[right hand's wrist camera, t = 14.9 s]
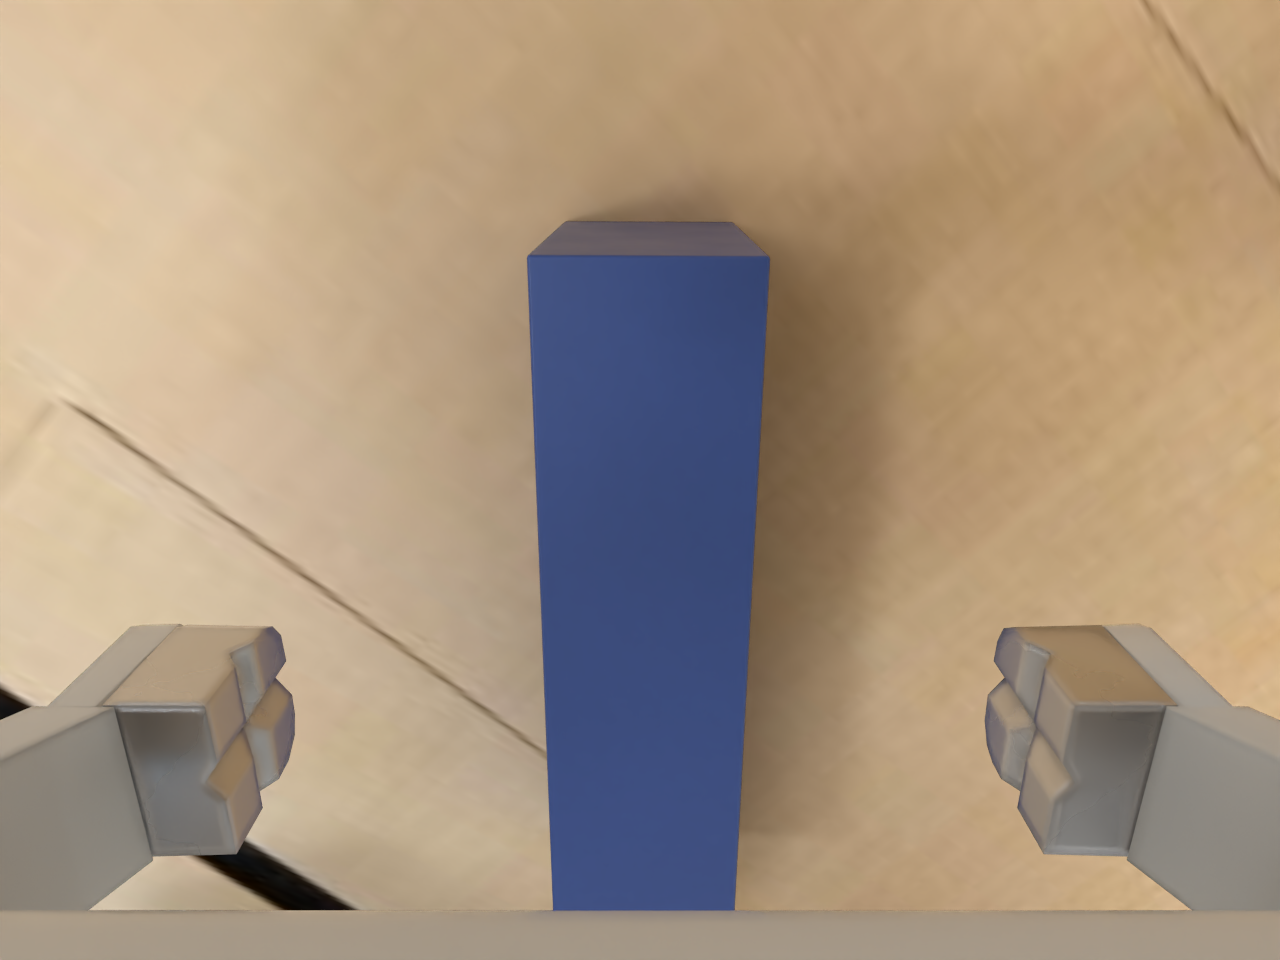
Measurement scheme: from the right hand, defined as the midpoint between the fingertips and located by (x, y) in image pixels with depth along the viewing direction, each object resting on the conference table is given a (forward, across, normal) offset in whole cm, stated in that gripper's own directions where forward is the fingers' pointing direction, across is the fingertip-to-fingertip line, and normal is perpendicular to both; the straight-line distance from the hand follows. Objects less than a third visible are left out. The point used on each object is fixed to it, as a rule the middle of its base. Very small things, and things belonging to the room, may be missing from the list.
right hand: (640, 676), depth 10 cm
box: (+24, 0, -11) cm, 26 cm away
